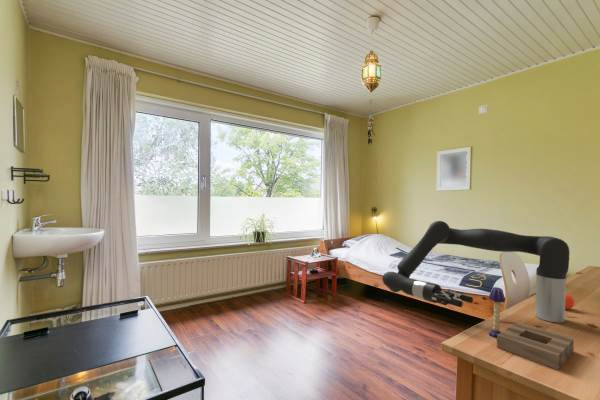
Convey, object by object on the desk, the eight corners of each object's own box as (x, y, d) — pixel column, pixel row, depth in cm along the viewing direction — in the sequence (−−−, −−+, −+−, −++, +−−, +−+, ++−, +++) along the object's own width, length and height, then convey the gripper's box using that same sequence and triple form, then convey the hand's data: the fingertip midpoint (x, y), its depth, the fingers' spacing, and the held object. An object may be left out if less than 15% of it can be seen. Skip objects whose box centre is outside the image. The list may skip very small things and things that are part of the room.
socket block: (516, 333, 105) (517, 322, 105) (573, 351, 93) (573, 339, 93) (496, 347, 94) (497, 334, 94) (557, 369, 82) (558, 355, 82)
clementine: (553, 304, 139) (553, 289, 139) (573, 307, 134) (573, 292, 134) (553, 308, 133) (554, 292, 133) (574, 312, 128) (575, 296, 128)
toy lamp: (506, 340, 99) (508, 290, 99) (491, 338, 100) (492, 289, 100) (499, 333, 104) (501, 286, 104) (485, 332, 105) (486, 285, 105)
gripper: (417, 284, 119) (458, 295, 106) (435, 279, 127) (476, 289, 114) (416, 303, 119) (458, 316, 106) (435, 297, 127) (475, 308, 114)
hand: (467, 302), depth 110 cm, fingers open, 8 cm apart
